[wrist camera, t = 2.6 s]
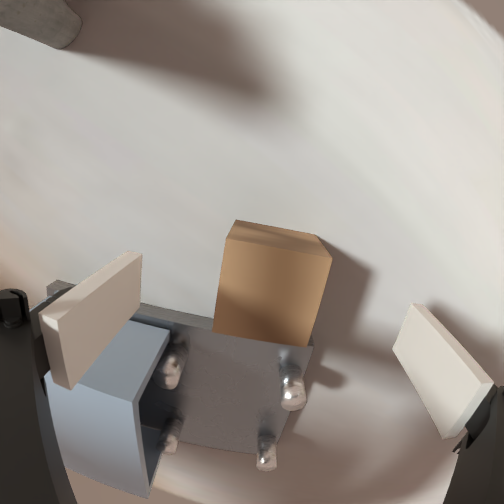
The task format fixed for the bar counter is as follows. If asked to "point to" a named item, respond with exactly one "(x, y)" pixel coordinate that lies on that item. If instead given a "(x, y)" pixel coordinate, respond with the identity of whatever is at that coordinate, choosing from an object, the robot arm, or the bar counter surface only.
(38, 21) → the hip flask
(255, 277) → the light brown cube
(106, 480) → the housing cover
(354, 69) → the bar counter surface
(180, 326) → the housing base
